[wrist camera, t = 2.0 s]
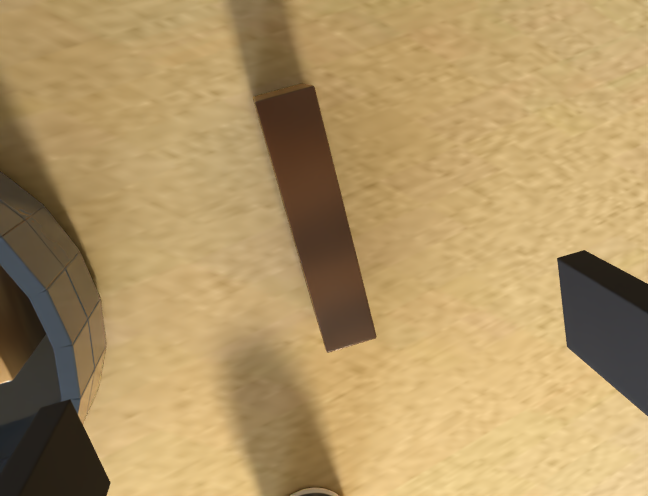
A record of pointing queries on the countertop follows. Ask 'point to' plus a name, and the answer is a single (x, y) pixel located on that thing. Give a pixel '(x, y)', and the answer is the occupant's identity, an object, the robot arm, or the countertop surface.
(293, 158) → the stick
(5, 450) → the bowl
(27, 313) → the block beech
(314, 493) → the supplement bottle
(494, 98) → the countertop surface
